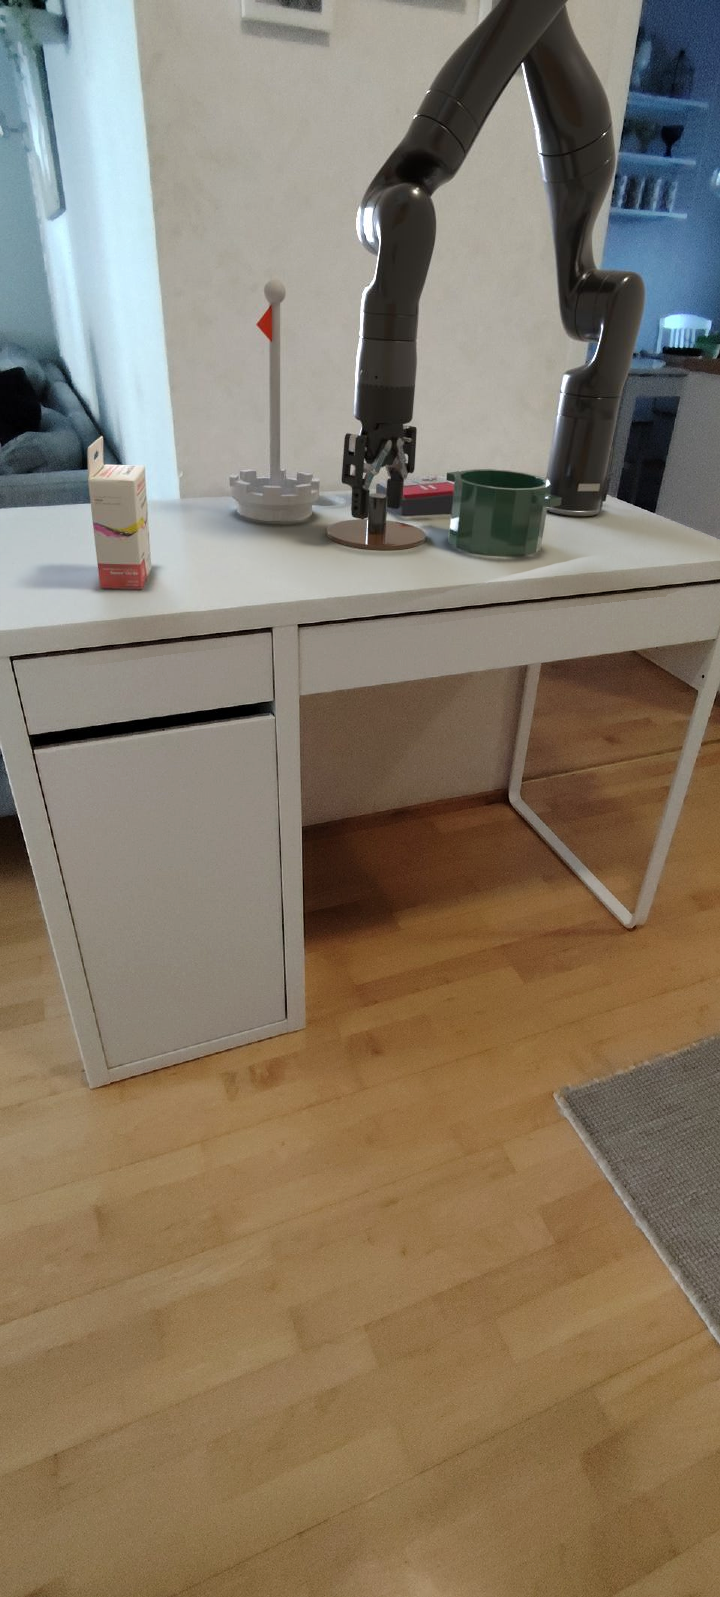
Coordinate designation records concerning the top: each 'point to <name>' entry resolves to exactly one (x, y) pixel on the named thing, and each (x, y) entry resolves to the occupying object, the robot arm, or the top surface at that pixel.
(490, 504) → the pot
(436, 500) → the grey red flat block
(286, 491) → the flag stand
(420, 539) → the lid
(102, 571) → the ink cartridge box
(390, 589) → the top surface
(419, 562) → the top surface
